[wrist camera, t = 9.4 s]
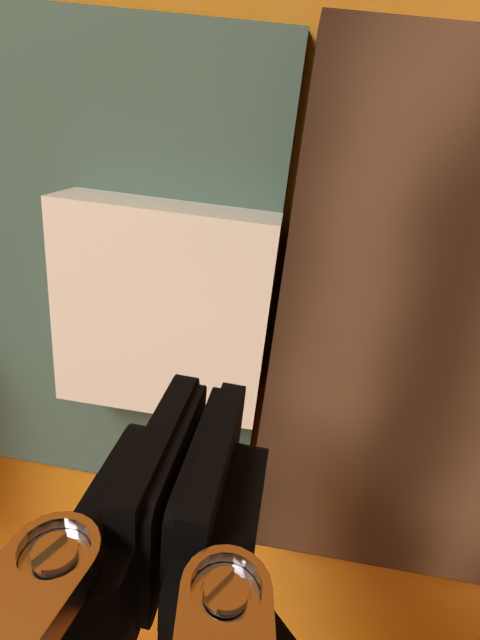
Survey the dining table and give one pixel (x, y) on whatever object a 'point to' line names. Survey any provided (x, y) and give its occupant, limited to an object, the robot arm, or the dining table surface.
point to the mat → (122, 165)
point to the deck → (381, 305)
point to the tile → (156, 295)
